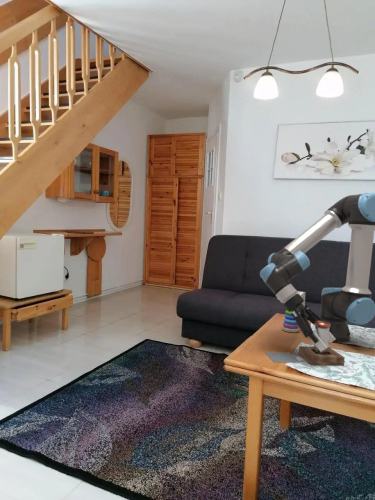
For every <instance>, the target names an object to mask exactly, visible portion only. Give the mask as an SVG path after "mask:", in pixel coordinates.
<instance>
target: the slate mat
mask: <svg viewBox="0 0 375 500" xmlns="http://www.w3.org/2000/svg"><path fill="white" fill-rule="evenodd" d="M265 355H266V356H267V357H268V358H269V359H270V360H271V361H272V363H301V361H300V360H299V359H298V358H297V357H296V356H294V355H293V354H292V353H291V352H265Z"/></svg>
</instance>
